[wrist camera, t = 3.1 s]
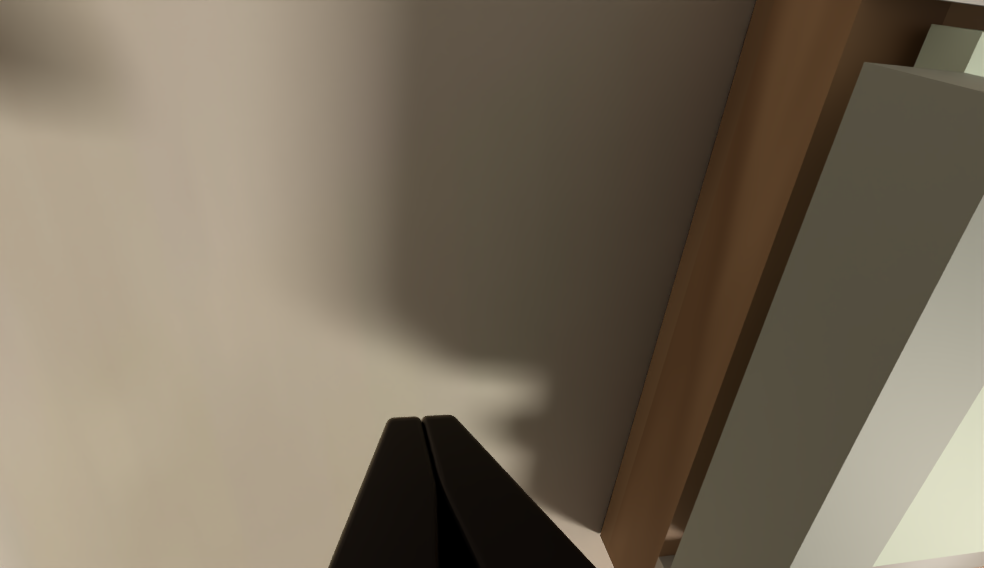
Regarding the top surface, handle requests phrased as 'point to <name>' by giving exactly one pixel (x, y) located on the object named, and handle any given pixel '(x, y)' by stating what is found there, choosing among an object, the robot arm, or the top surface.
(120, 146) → the top surface
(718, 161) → the wooden container
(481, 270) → the top surface
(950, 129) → the lid
